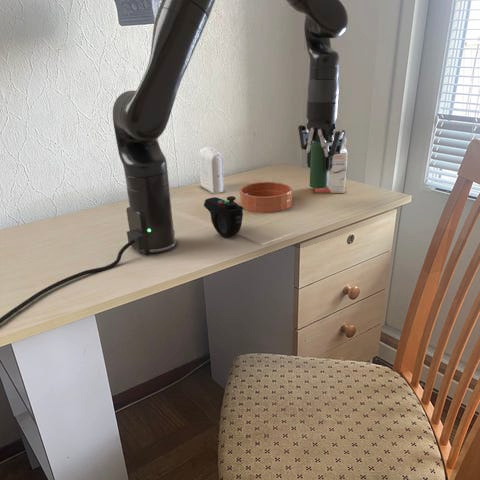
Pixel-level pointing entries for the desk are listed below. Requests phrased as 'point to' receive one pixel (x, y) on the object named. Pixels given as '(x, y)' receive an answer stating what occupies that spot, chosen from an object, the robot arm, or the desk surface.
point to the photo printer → (211, 170)
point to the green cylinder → (318, 167)
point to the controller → (225, 215)
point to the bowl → (266, 197)
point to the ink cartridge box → (337, 172)
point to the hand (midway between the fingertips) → (319, 168)
